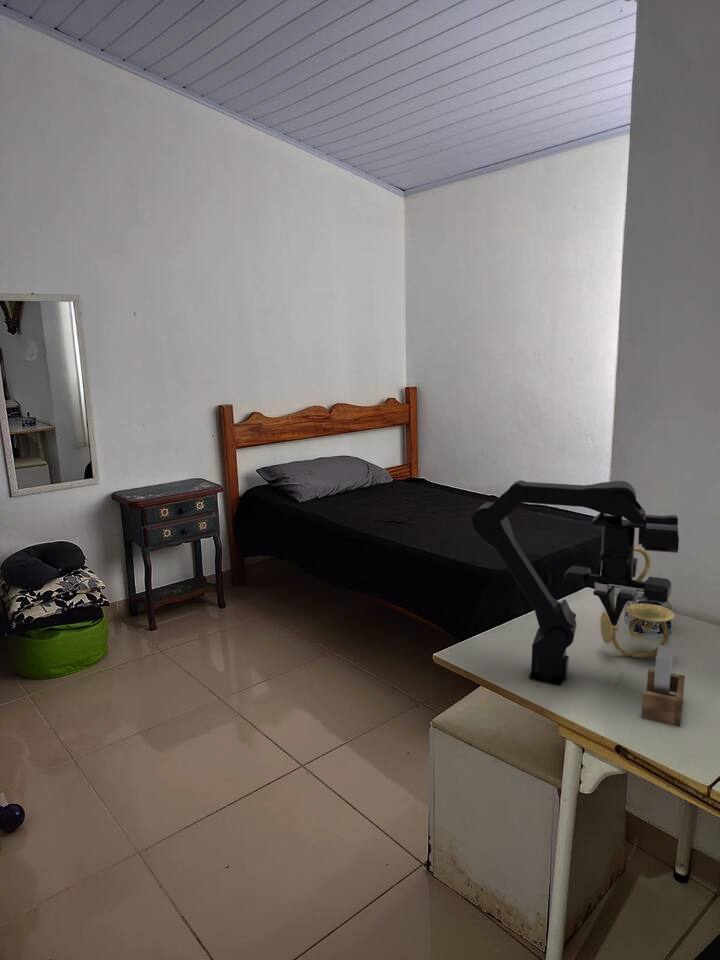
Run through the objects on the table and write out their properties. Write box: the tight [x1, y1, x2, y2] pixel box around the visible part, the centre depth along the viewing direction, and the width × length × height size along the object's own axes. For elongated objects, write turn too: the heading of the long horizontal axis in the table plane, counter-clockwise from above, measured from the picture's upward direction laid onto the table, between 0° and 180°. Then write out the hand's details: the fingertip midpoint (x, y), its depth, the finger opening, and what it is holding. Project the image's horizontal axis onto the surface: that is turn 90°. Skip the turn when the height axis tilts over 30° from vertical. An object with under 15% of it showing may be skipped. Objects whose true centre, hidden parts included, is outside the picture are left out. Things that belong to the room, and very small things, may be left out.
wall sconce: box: [599, 546, 675, 659], centre depth 137 cm, size 14×10×25 cm
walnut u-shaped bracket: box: [640, 668, 686, 728], centre depth 118 cm, size 6×10×5 cm, turn 151°
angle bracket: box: [653, 644, 677, 697], centre depth 118 cm, size 5×6×11 cm
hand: (614, 624), depth 125 cm, fingers closed
